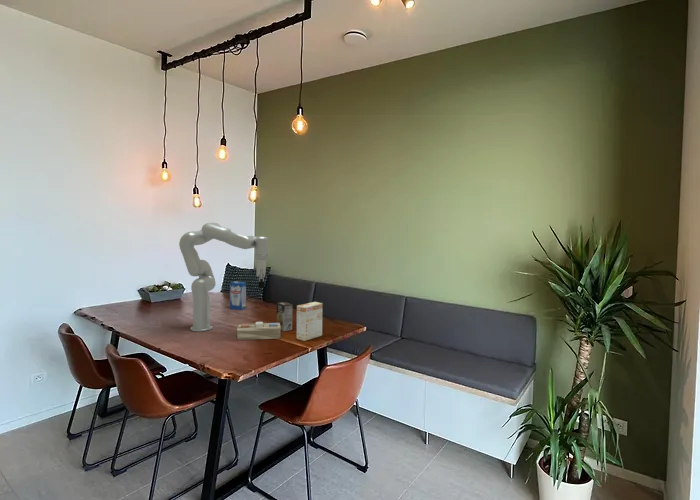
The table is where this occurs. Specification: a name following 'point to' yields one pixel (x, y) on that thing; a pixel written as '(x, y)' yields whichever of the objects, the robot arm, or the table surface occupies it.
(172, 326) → the table surface
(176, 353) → the table surface
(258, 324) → the white key
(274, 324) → the slate-blue key
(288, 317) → the coffee box
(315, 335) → the coffeecake box
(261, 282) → the robot arm
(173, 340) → the table surface
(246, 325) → the terracotta key
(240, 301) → the milk carton
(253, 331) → the key console
